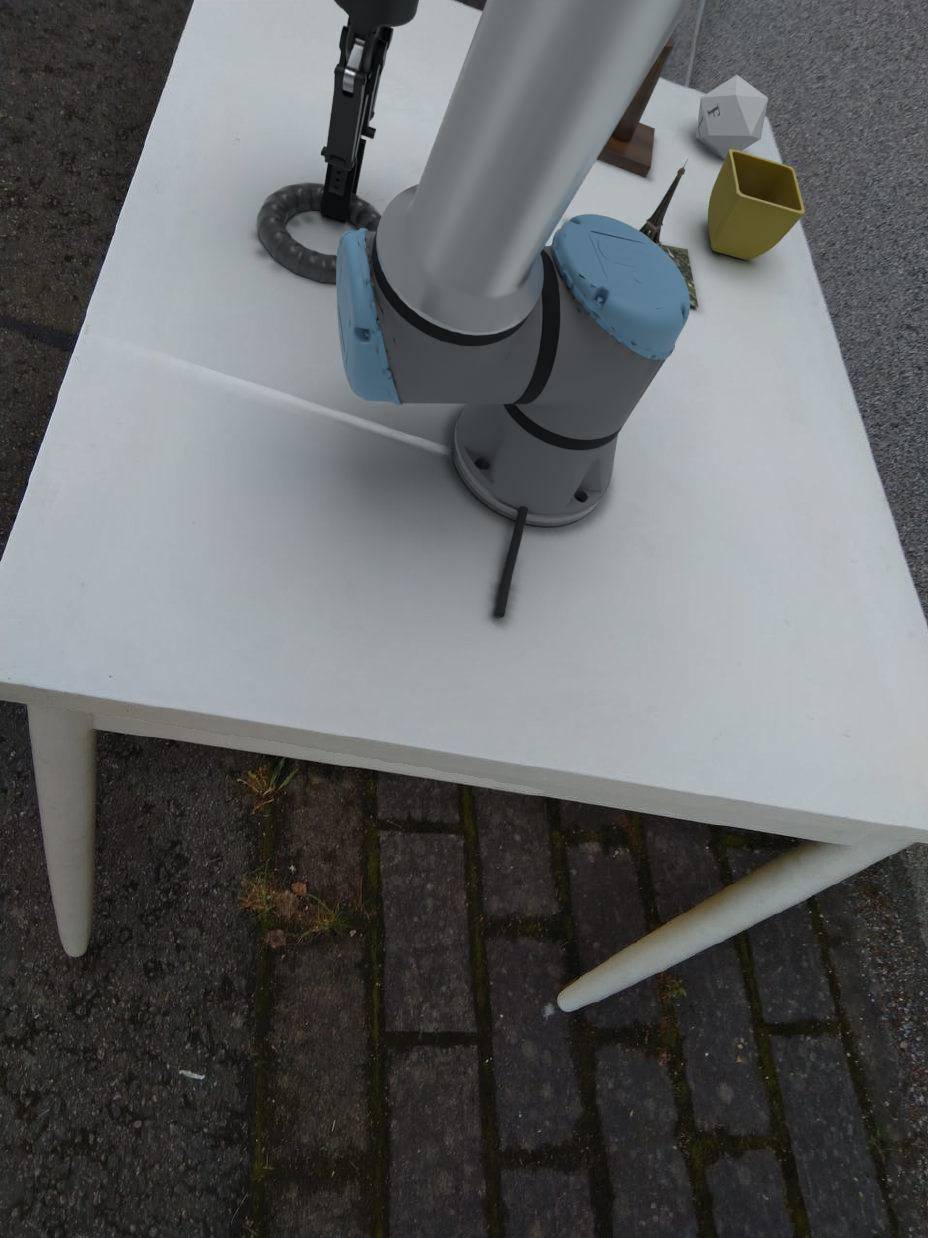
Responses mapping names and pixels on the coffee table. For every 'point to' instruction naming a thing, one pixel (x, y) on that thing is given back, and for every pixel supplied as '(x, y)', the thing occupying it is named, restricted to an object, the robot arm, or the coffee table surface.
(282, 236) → the grey ribbed ring
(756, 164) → the flower pot
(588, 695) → the coffee table surface
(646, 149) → the wooden peg stand
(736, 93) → the die
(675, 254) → the eiffel tower figurine
